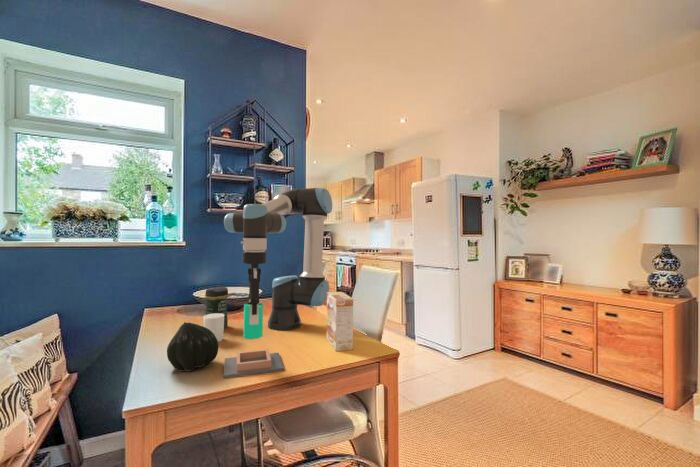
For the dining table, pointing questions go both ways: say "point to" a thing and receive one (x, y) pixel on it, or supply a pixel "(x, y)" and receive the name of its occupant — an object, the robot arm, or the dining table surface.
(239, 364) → the candle plate
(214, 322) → the white cup
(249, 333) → the candle
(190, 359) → the squash
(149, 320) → the dining table surface
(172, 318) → the dining table surface
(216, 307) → the coffee jar
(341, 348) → the coffeecake box
